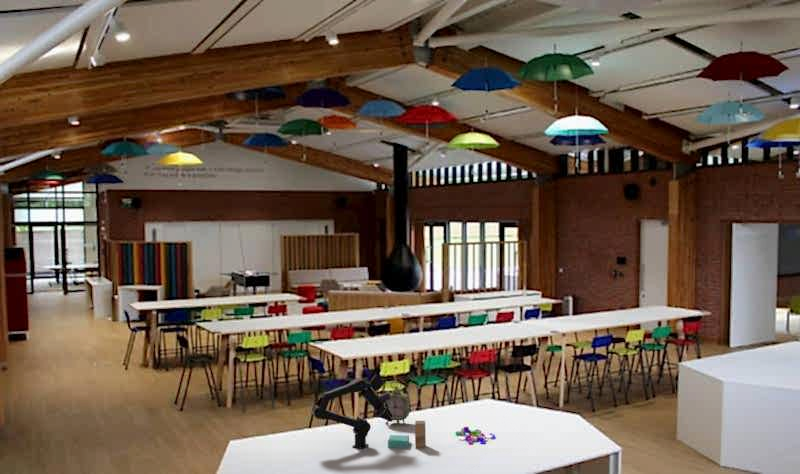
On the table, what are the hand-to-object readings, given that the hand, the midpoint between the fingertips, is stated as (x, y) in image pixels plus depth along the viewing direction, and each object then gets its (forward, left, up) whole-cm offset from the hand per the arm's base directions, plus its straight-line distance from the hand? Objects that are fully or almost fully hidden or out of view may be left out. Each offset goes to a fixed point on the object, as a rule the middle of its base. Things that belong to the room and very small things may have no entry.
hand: (392, 418), depth 357 cm
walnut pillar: (+2, -15, -14) cm, 21 cm away
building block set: (+28, -37, -15) cm, 49 cm away
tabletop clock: (+36, +13, -14) cm, 41 cm away
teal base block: (+1, -3, -14) cm, 15 cm away
